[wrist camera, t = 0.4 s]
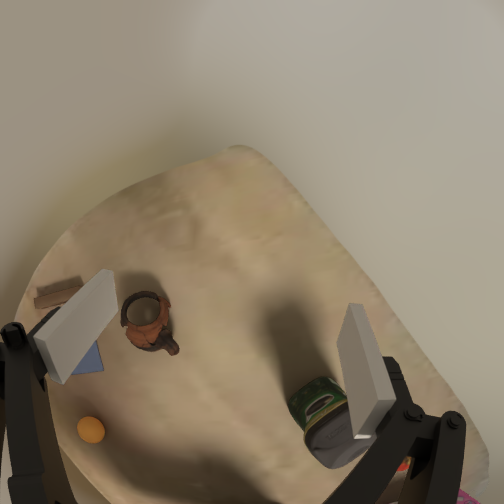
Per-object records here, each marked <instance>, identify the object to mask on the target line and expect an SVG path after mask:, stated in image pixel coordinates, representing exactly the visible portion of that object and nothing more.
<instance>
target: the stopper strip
mask: <svg viewBox="0 0 504 504" xmlns="http://www.w3.org/2000/svg"><path fill="white" fill-rule="evenodd" d="M81 288H82V286H76V287H73V288H69V289H65V290H62V291H58V292H55V293H51V294H48V295H44V296H40V297H37V298H34V304H35V308H38V309H43V308H47V307H51V306H55V305H59V304H63V303H66V302H67V301H68V300H69V299H70V298H71V297H72V296H73V295H74V294H75V293H77V292H78V291H79V290H80V289H81Z"/></svg>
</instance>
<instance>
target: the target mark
mask: <svg viewBox="0 0 504 504" xmlns="http://www.w3.org/2000/svg"><path fill="white" fill-rule="evenodd" d="M97 371H104V368H103V365H102V361H101V358H100V354H99V350H98V346H97V342H96V340H95V342H94V343H93V344H92V346H91V347H90V349H89V350H88V351H87V353H86V354H85V355H84V357H83V358H82V359H81V361H80V362H79V364H78V365H77V366H76V368H75V369H74V371H73V372H72V373H71V375H74V374H82V373H90V372H97Z"/></svg>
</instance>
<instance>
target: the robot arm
mask: <svg viewBox="0 0 504 504" xmlns="http://www.w3.org/2000/svg"><path fill="white" fill-rule="evenodd" d="M118 311H119V310H118V304H117V297H116V291H115V283H114V276H113V271H112V270H106V269H101V270H100V271H99V272H98V273H97V274H96V275H95V276H94V277H92V278H91V279H90V280H89V281H88V282H87V283H86V284H85V285H84V286H83V287H82V288H81V289H80V290H79V291H78V292H77V293H75V294H74V295H73V296H72V297H71V298H70V299H69V300H68V301H67V302H66V303H65V304H64V305H63V306H62V307H57V308H55V309H53V310H51V311H50V312H49V313H48V314H47V315H46V316H45V318H43V319H42V320H41V322H39V323H38V324H37V325H36V326H35V327H34V328H33V329H32V330H31V331H30V332H29V333H28V334H27V335H26V333H25V330H24V327H23V325H22V324H21V323H19V322H11V323H9V324H7V325H5V326H4V327H3V328H2V329H1V332H0V334H1V336H2V339H3V341H4V343H2V342H0V476H1V460H2V450H3V441H4V434H5V427H6V428H7V438H8V447H9V454H10V461H11V467H12V474H13V475H12V477H9V478H8V489H9V493H10V498H11V502H12V504H78V503H77V502H76V500H75V498H74V495H73V493H72V490H71V487H70V484H69V481H68V478H67V475H66V471H65V468H64V465H63V461H62V458H61V454H60V450H59V446H58V442H57V438H56V434H55V429H54V424H53V419H52V414H51V409H50V403H49V397H48V390H47V383H46V379H45V377H44V376H45V374H46V373H47V372H48V373H49V375H50V378H51V380H53V381H55V382H57V383H60V384H62V385H64V383H65V382H66V380H67V379H68V378H69V376H70V375H71V373H72V372H73V371H74V369H75V368H76V366H77V365H78V364H79V362H80V361H81V359H82V358H83V357H84V355H85V354H86V353H87V351H88V350H89V349H90V347H91V346H92V344H93V343H94V342H95V340H96V339H97V338H98V336H99V335H100V334H101V333H102V331H103V330H104V329H105V327H106V326H107V325H108V323H109V322H110V321H111V320H112V318H113V317H114V316H115V314H116V313H117V312H118ZM337 347H338V352H339V357H340V362H341V367H342V372H343V377H344V383H345V388H346V394H347V400H348V405H349V411H350V418H351V424H352V430H353V437H354V439H360V438H370V437H371V436H372V435H373V433H374V432H376V436H377V439H376V440H375V441H374V443H373V444H372V445H371V447H370V448H369V449H368V451H367V452H366V453H365V455H364V456H363V457H362V459H361V460H360V461H359V462H358V464H357V465H356V466H355V467H354V469H353V470H352V471H351V472H350V473H349V475H348V476H347V477H346V478H345V479H344V480H343V482H342V483H341V484H340V485H339V486H338V487H337V488H336V489H335V491H334V492H333V493H332V494H331V495H330V496H329V497H328V498H327V499H326V500H325V501H324V502H323V503H322V504H374V503H375V502H376V501H377V499H378V498H379V496H380V495H381V494H382V492H383V491H384V489H385V488H386V486H387V485H388V483H389V482H390V480H391V479H392V477H393V476H394V474H395V473H396V471H397V470H398V468H399V466H400V465H401V463H402V462H403V460H404V458H405V457H411V461H410V465H409V469H408V472H407V476H406V479H405V482H404V486H403V489H402V492H401V495H400V498H399V501H398V504H457V499H458V493H459V488H460V482H461V475H462V467H463V459H464V449H465V437H466V421H465V419H464V417H463V416H462V415H461V414H460V413H458V412H455V411H448V412H445V413H444V414H443V415H442V417H441V418H440V417H435V416H430V415H426V414H425V412H424V411H423V409H422V408H421V407H420V406H418V405H417V404H414V403H413V401H412V398H411V396H410V393H409V390H408V387H407V385H406V382H405V380H404V377H403V374H402V371H401V369H400V366H399V364H398V363H397V362H396V361H395V359H394V358H393V357H382V355H381V352H380V349H379V347H378V344H377V341H376V338H375V336H374V333H373V330H372V328H371V325H370V322H369V320H368V317H367V315H366V312H365V310H364V307H363V305H362V304H354V303H349V305H348V309H347V312H346V315H345V318H344V322H343V325H342V328H341V331H340V334H339V337H338V340H337Z"/></svg>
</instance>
